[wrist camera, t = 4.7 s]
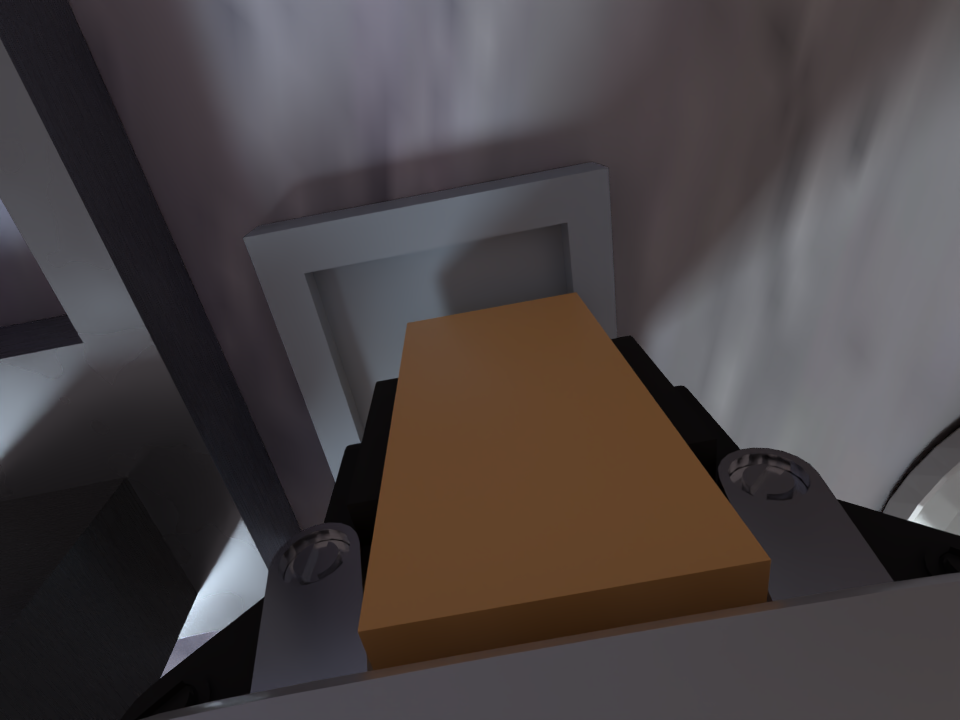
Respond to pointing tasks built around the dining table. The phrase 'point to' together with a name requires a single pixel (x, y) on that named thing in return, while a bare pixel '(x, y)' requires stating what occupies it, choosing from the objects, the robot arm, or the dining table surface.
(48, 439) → the grey socket base
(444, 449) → the plug
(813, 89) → the dining table surface
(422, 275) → the tray
